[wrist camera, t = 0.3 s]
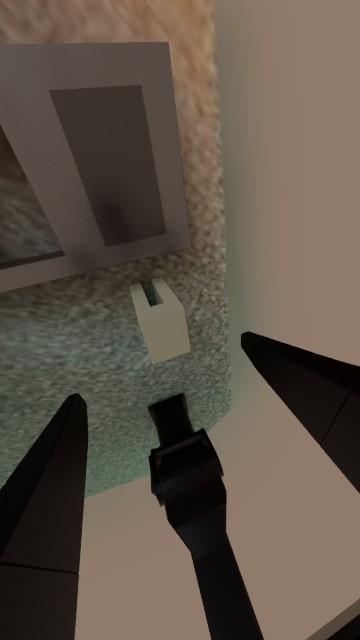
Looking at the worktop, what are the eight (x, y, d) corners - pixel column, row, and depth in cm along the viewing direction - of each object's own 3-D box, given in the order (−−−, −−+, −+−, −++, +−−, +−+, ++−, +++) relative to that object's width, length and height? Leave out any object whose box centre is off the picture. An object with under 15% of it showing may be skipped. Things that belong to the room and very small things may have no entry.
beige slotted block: (169, 313, 23) (190, 351, 17) (141, 321, 22) (153, 364, 16) (161, 276, 20) (183, 307, 14) (129, 285, 19) (138, 320, 13)
